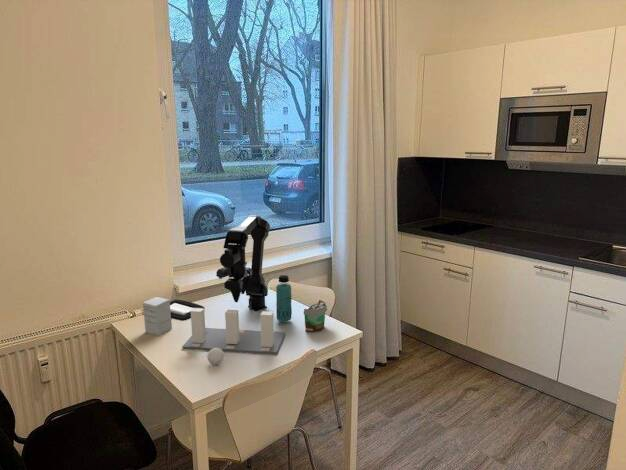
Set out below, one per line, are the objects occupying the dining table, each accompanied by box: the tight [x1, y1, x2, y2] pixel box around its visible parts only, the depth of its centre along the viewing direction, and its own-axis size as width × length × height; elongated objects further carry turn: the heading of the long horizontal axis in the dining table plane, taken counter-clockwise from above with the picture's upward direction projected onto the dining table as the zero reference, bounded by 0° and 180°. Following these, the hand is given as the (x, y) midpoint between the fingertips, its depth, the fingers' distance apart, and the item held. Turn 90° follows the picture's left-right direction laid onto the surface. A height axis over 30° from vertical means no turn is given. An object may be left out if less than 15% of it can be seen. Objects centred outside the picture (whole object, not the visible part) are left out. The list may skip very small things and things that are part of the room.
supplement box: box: [142, 296, 173, 336], centre depth 169 cm, size 7×7×13 cm
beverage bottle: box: [275, 274, 293, 322], centre depth 176 cm, size 6×7×20 cm
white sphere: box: [201, 348, 225, 366], centre depth 145 cm, size 8×6×6 cm
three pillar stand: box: [182, 307, 286, 356], centre depth 160 cm, size 16×35×13 cm, turn 83°
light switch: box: [170, 299, 206, 321], centre depth 189 cm, size 20×3×14 cm
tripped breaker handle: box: [224, 309, 240, 344], centre depth 157 cm, size 3×4×12 cm
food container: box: [303, 299, 328, 334], centre depth 171 cm, size 12×6×10 cm, turn 148°
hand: (239, 297), depth 172 cm, fingers open, 9 cm apart
